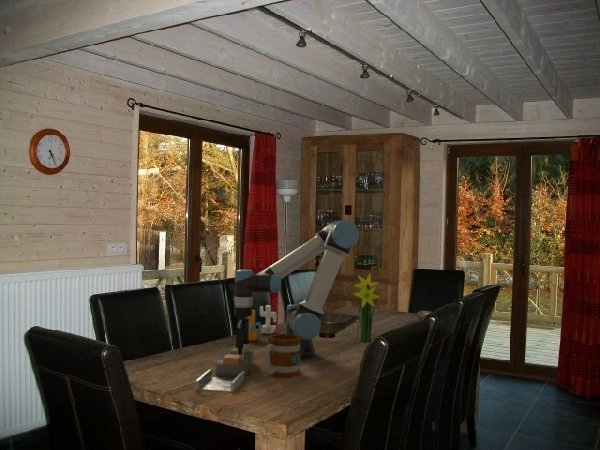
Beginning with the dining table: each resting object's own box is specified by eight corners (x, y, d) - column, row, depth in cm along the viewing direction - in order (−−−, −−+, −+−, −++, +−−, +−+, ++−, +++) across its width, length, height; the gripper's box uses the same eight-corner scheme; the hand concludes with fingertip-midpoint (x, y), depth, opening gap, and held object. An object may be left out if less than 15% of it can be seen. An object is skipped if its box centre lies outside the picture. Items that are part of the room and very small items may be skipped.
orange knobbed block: (266, 339, 294) (266, 310, 294) (254, 343, 285) (254, 312, 285) (247, 336, 301) (248, 307, 301) (234, 339, 292) (235, 310, 292)
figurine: (273, 335, 306) (274, 306, 306) (257, 333, 309) (257, 305, 309) (278, 332, 313) (278, 305, 313) (261, 331, 316) (262, 303, 316)
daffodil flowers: (377, 347, 282) (379, 276, 282) (348, 344, 287) (349, 274, 286) (382, 340, 299) (384, 273, 298) (354, 338, 303) (356, 271, 303)
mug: (278, 368, 238) (279, 332, 238) (307, 373, 231) (307, 336, 231) (251, 379, 221) (252, 340, 221) (280, 385, 214) (281, 344, 214)
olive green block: (253, 363, 245) (253, 349, 245) (251, 366, 240) (251, 351, 240) (232, 362, 246) (233, 348, 246) (230, 365, 241) (230, 350, 241)
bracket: (244, 380, 219) (244, 371, 219) (233, 392, 203) (233, 383, 203) (208, 378, 221) (209, 369, 221) (195, 390, 205) (195, 380, 205)
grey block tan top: (251, 370, 233) (252, 353, 233) (244, 379, 220) (244, 361, 220) (220, 368, 235) (221, 351, 235) (211, 377, 222) (211, 359, 222)
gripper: (240, 302, 253) (238, 355, 253) (228, 309, 235) (227, 365, 235) (256, 303, 252) (255, 356, 252) (246, 309, 234) (245, 366, 234)
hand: (242, 360), depth 243 cm, fingers closed on olive green block, 5 cm apart
